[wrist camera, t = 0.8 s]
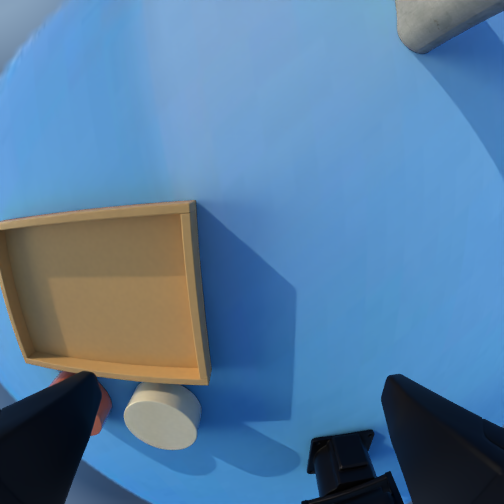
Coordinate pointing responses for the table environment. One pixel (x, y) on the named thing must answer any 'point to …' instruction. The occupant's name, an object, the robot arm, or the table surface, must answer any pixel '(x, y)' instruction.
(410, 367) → the table surface
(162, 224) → the serving tray
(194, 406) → the white short cylinder
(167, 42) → the table surface
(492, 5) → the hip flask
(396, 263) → the table surface
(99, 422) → the reddish-brown short cylinder
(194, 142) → the table surface
